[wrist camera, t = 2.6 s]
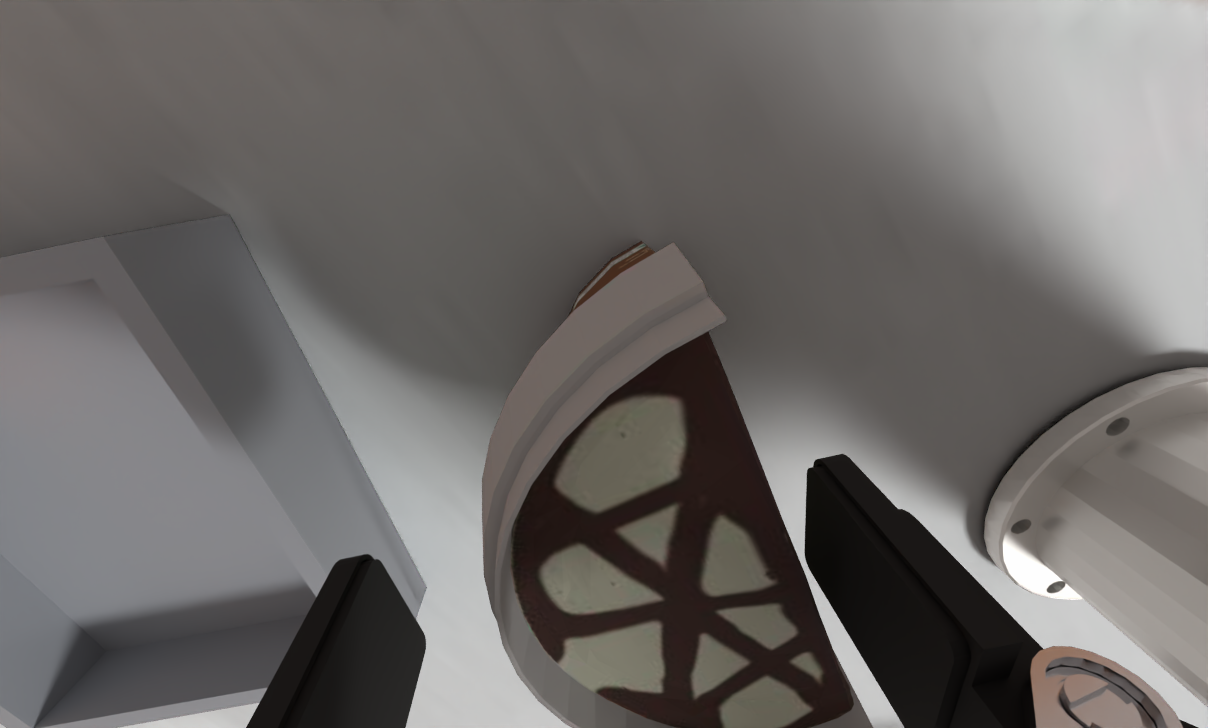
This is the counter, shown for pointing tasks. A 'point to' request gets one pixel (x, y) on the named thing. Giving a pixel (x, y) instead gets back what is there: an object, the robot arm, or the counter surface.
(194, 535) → the grey bin
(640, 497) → the food container
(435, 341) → the counter surface
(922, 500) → the counter surface
